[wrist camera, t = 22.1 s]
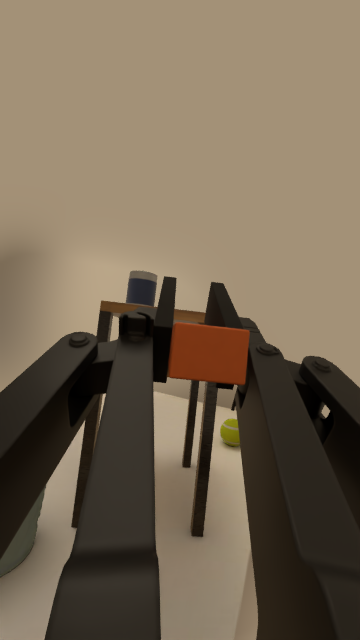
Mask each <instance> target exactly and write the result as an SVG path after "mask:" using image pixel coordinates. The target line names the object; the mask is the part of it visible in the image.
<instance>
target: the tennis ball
mask: <svg viewBox="0 0 360 640" xmlns="http://www.w3.org/2000/svg"><path fill="white" fill-rule="evenodd" d="M220 433H221V437H222V439H223V441H224V442H225V443H226V444H228V445H230V446H238V445H240V438H239V429H238V420H236V419H228V420H226V421H225V422H224V423H223V424H222V426H221V429H220Z"/></svg>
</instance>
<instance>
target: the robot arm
mask: <svg viewBox="0 0 360 640" xmlns="http://www.w3.org/2000/svg"><path fill="white" fill-rule="evenodd" d="M175 292H176V278H174V277H164V280H163V284H162V289H161V294H160V299H159V303H158V307H157V308H148V307H138V308H137V309H135V310H134V311H128V312H124V313H122V314H121V315H120V316H119V337H118V339H117V340H115V341H111V342H101V343H98V340H97V337H96V336H94V335H93V334H90V333H87V332H86V333H85V332H74V333H71V334H68V335H66V336H64V337H62V338H61V339H60V340H59V341H58V342H57V343H56V344H55V345H53V346H52V347H51V348H50V349H49V350H48V351H47V352H45V353H44V354H43V355H42V356H41V357H40V358H39V359H38V360H37V361H35V362H34V363H33V364H32V365H31V366H30V367H29V368H27V369H26V370H25V371H24V372H23V373H22V374H21V375H20V376H18V377H17V378H16V379H15V380H14V381H13V382H12V383H11V384H9V385H8V386H7V387H6V388H5V389H4V390H3V391H2V392H0V560H1V558H2V556H3V555H4V553H5V551H6V550H7V548H8V546H9V545H10V543H11V541H12V540H13V538H14V537H15V535H16V533H17V532H18V530H19V528H20V527H21V525H22V523H23V522H24V520H25V518H26V517H27V515H28V513H29V512H30V510H31V508H32V507H33V505H34V503H35V502H36V500H37V498H38V497H39V495H40V493H41V492H42V490H43V488H44V487H45V485H46V484H47V482H48V480H49V479H50V477H51V475H52V474H53V472H54V470H55V469H56V467H57V465H58V464H59V462H60V460H61V459H62V457H63V455H64V454H65V452H66V450H67V449H68V447H69V445H70V444H71V442H72V440H73V439H74V437H75V435H76V434H77V432H78V431H79V429H80V427H81V426H82V424H83V422H84V421H85V419H86V417H87V416H88V414H89V412H90V411H91V409H92V407H93V406H94V404H95V402H96V401H97V399H98V396H99V394H105V393H106V397H105V402H104V406H103V411H102V415H101V420H100V425H99V429H98V434H97V438H96V443H95V448H94V452H93V457H92V461H91V466H90V471H89V475H88V480H87V485H86V489H85V494H84V498H83V503H82V508H81V512H80V517H79V521H78V526H77V531H76V535H75V540H74V544H73V548H72V552H71V555H70V558H69V559H68V561H67V562H66V564H65V565H64V567H63V570H62V573H61V576H60V579H59V582H58V586H57V590H56V594H55V597H54V601H53V606H52V610H51V614H50V618H49V623H48V627H47V631H46V635H45V640H161V626H160V586H159V565H158V557H157V553H156V541H155V474H154V403H153V382H162V383H166V381H167V373H168V360H169V352H170V344H171V336H172V328H173V321H174V307H175ZM204 323H205V325H208V326H217V327H226V328H235V329H244V330H249V332H250V335H249V346H248V357H247V367H246V378H245V384H244V385H237V386H238V387H237V391H236V394H235V398H234V401H233V404H232V409H231V410H233V411H234V408H235V406H236V411H237V420H238V429H239V438H240V448H241V457H242V466H243V476H244V485H245V494H246V503H247V513H248V522H249V531H250V540H251V550H252V559H253V568H254V577H255V587H256V596H257V605H258V629H257V639H256V640H360V388H359V387H358V386H357V385H356V384H355V383H354V382H353V381H352V380H351V379H350V378H349V377H348V376H346V375H345V374H344V373H343V372H342V371H341V370H340V369H339V368H338V367H337V366H335V365H334V364H333V363H331V362H329V361H327V360H326V359H324V358H321V357H315V356H306V357H305V358H304V359H303V361H302V364H298V363H295V362H291V361H288V360H285V359H284V357H283V355H282V353H281V352H280V350H279V349H277V348H276V347H275V346H273V345H270V344H267V343H266V342H265V340H264V338H263V336H262V334H261V333H260V331H259V329H258V328H257V326H256V324H255V323H254V322H253V321H252V320H250V319H249V318H242V317H238V315H237V312H236V310H235V308H234V306H233V304H232V302H231V299H230V297H229V295H228V293H227V290H226V288H225V286H224V284H223V283H215V282H211V286H210V292H209V297H208V303H207V308H206V314H205V319H204ZM215 387H216V388H222V389H231V390H233V387H234V384H225V383H215ZM324 405H326V406H327V407H328V408H329V410H330V413H329V415H328V417H327V418H325V417H324V416H323V415H322V413H321V411H322V409H323V407H324Z"/></svg>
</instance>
